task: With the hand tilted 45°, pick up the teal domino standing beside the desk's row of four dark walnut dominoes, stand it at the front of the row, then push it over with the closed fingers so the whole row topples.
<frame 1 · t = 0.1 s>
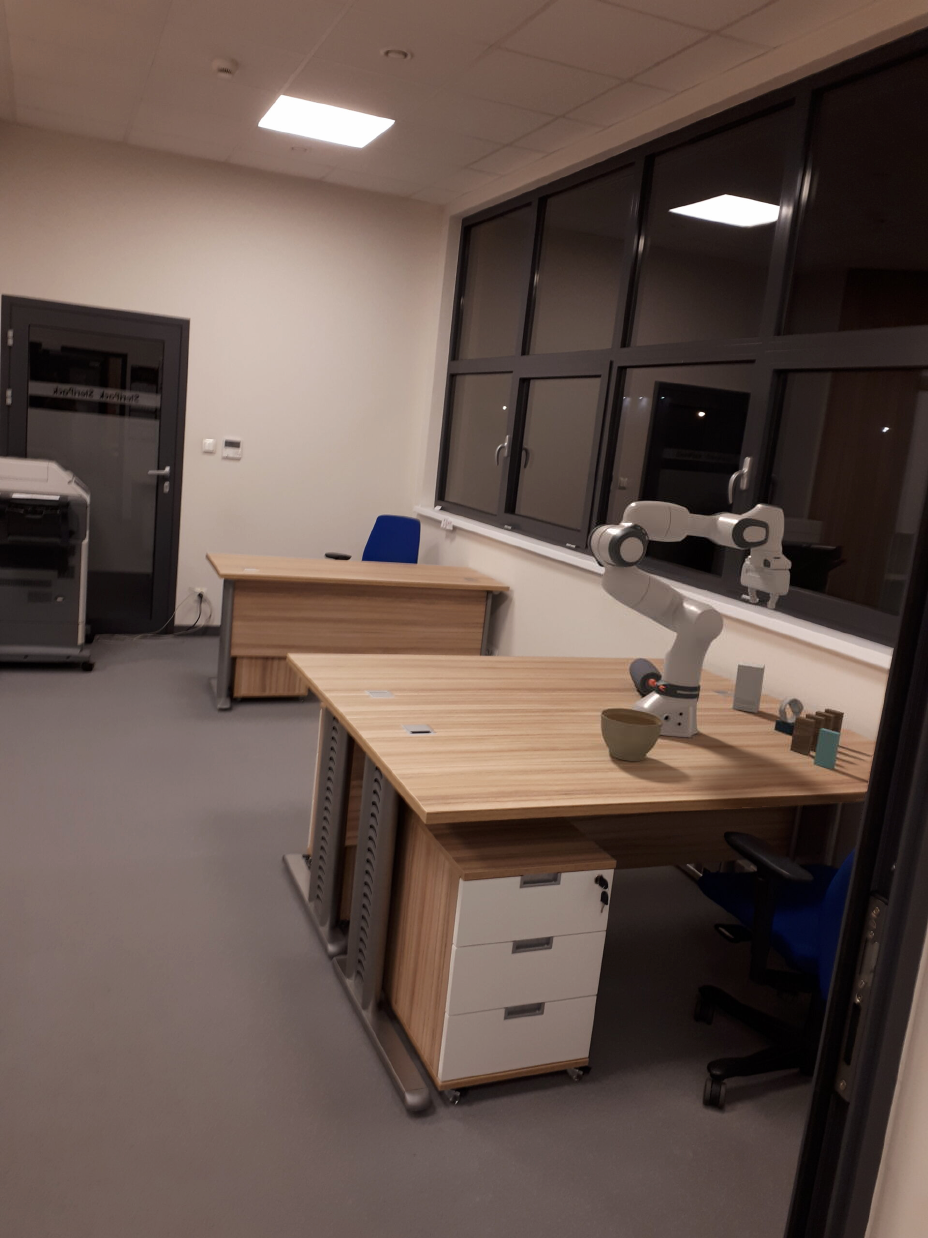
hand: (761, 605, 282), 39 cm above the table, tool pointing down, fingers open, 8 cm apart
watch: (786, 732, 293), on the table
walnut domino 4: (819, 745, 281), on the table
walnut domino 3: (809, 749, 276), on the table
teal domino: (823, 766, 260), on the table
walnut domino 5: (828, 743, 286), on the table
skincare box: (744, 710, 317), on the table
bluetooth speaker: (644, 692, 327), on the table
planter bowl: (626, 756, 249), on the table
walnut domino 2: (799, 752, 272), on the table
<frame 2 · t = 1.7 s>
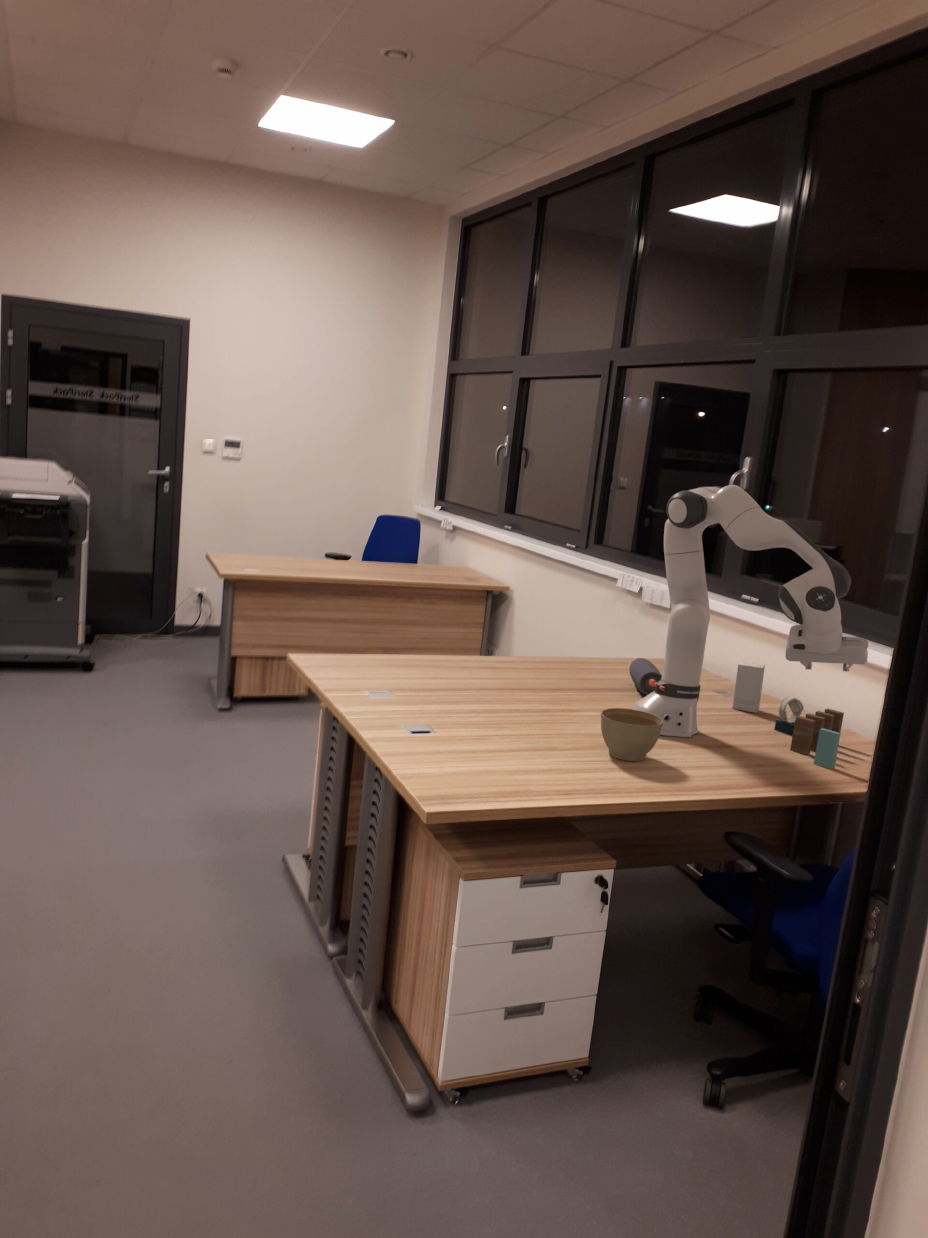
hand: (827, 668, 254), 27 cm above the table, tool tilted 45°, fingers open, 8 cm apart
nothing on the table moved.
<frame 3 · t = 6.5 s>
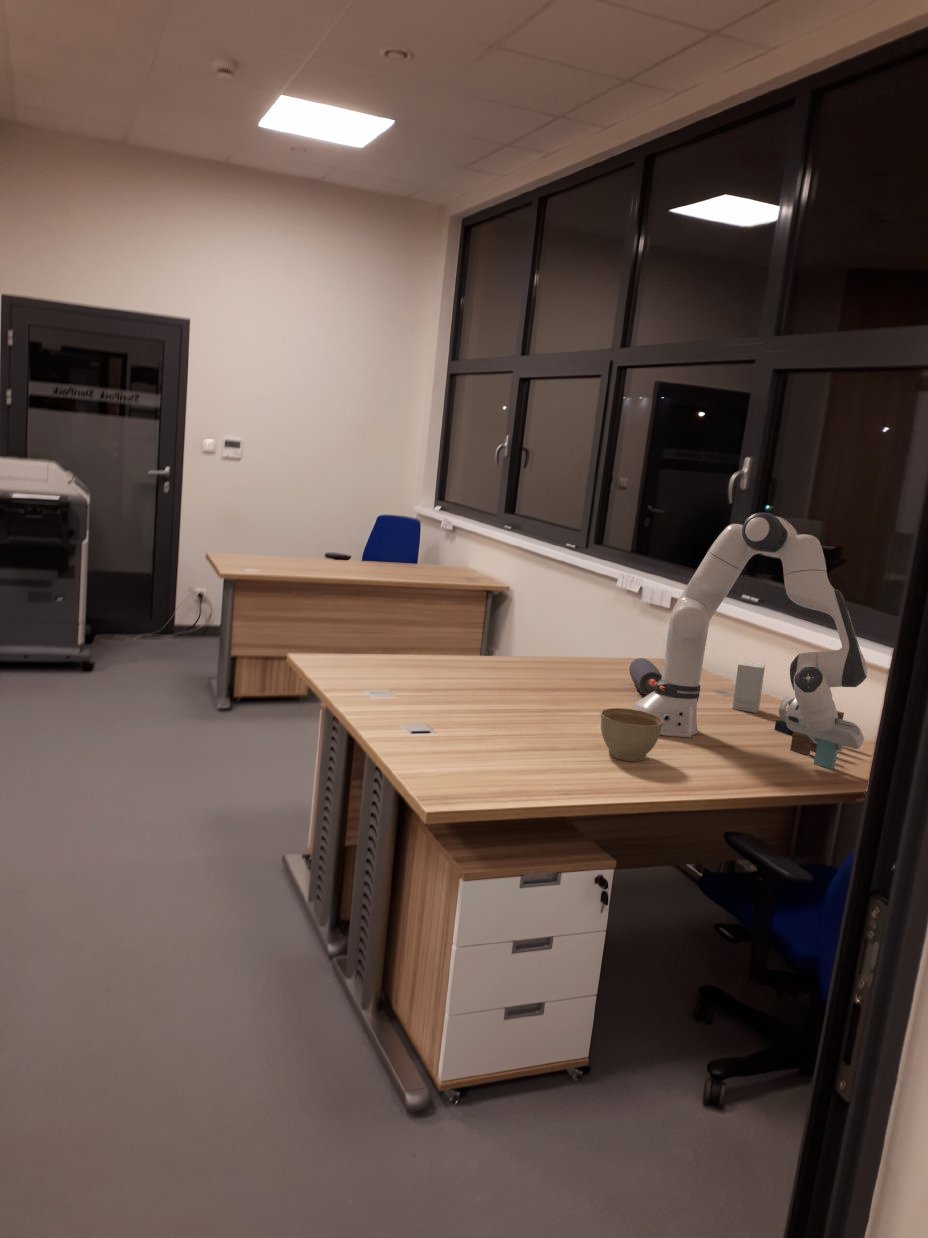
hand: (828, 745, 260), 6 cm above the table, tool tilted 45°, fingers closed on teal domino, 5 cm apart
teal domino: (823, 766, 260), on the table, touching gripper
everything else where it was.
when the fingers open (7 cm above the table, at t = 12.2 s): teal domino drops 1 cm, on the table.
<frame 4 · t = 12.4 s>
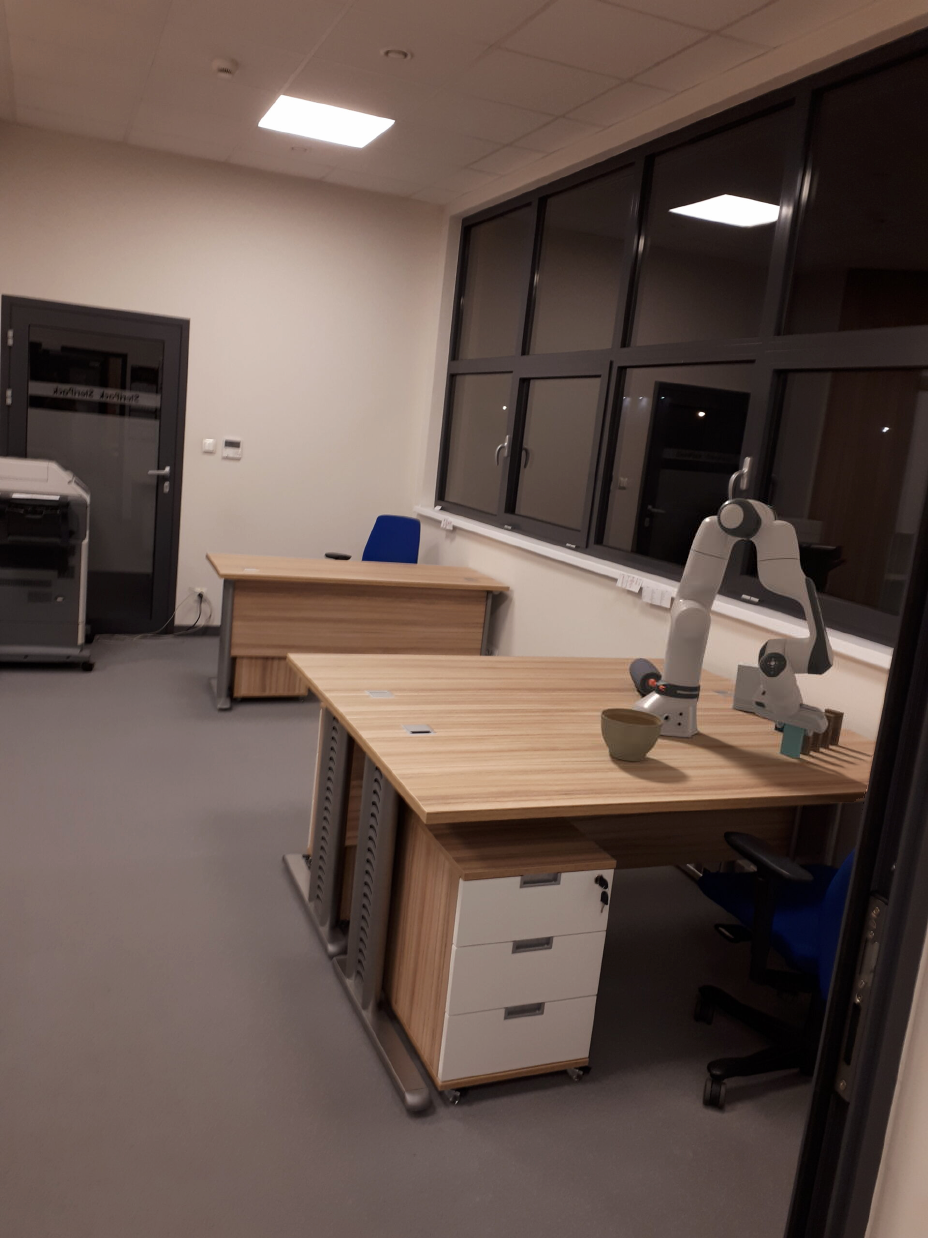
hand: (795, 730, 266), 7 cm above the table, tool tilted 45°, fingers open, 7 cm apart
teal domino: (789, 755, 267), on the table
everything else where it was.
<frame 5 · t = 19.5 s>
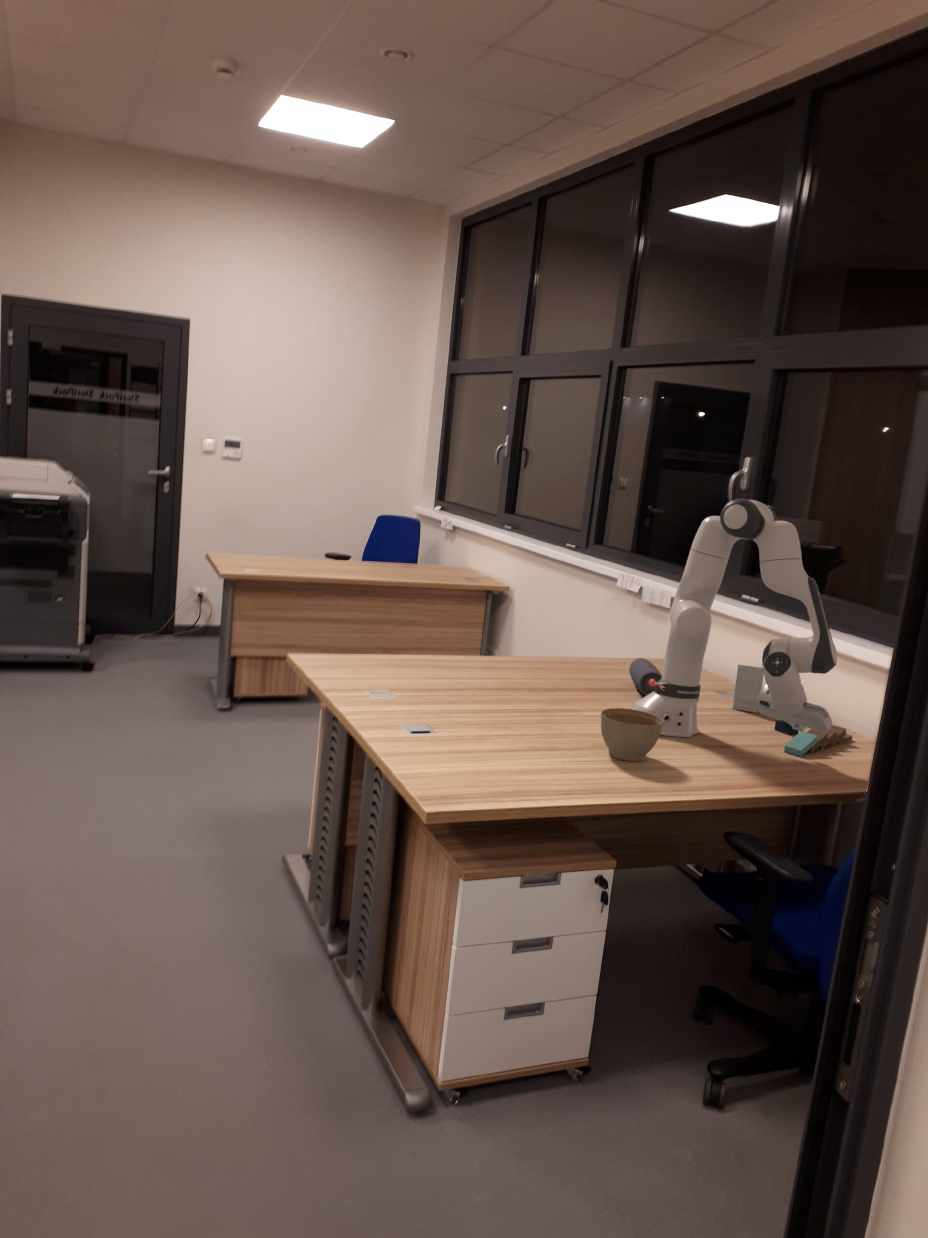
hand: (799, 728, 268), 7 cm above the table, tool tilted 45°, fingers closed
walnut domino 4: (822, 741, 282), point 1 cm above the table, tilted 75°, touching walnut domino 3
walnut domino 3: (812, 745, 277), point 1 cm above the table, tilted 73°, touching walnut domino 4
teal domino: (792, 751, 268), point 1 cm above the table, tilted 72°, touching walnut domino 2
walnut domino 5: (830, 741, 286), on the table, tilted 90°
walnut domino 2: (802, 748, 273), point 1 cm above the table, tilted 72°, touching teal domino
everything else where it was.
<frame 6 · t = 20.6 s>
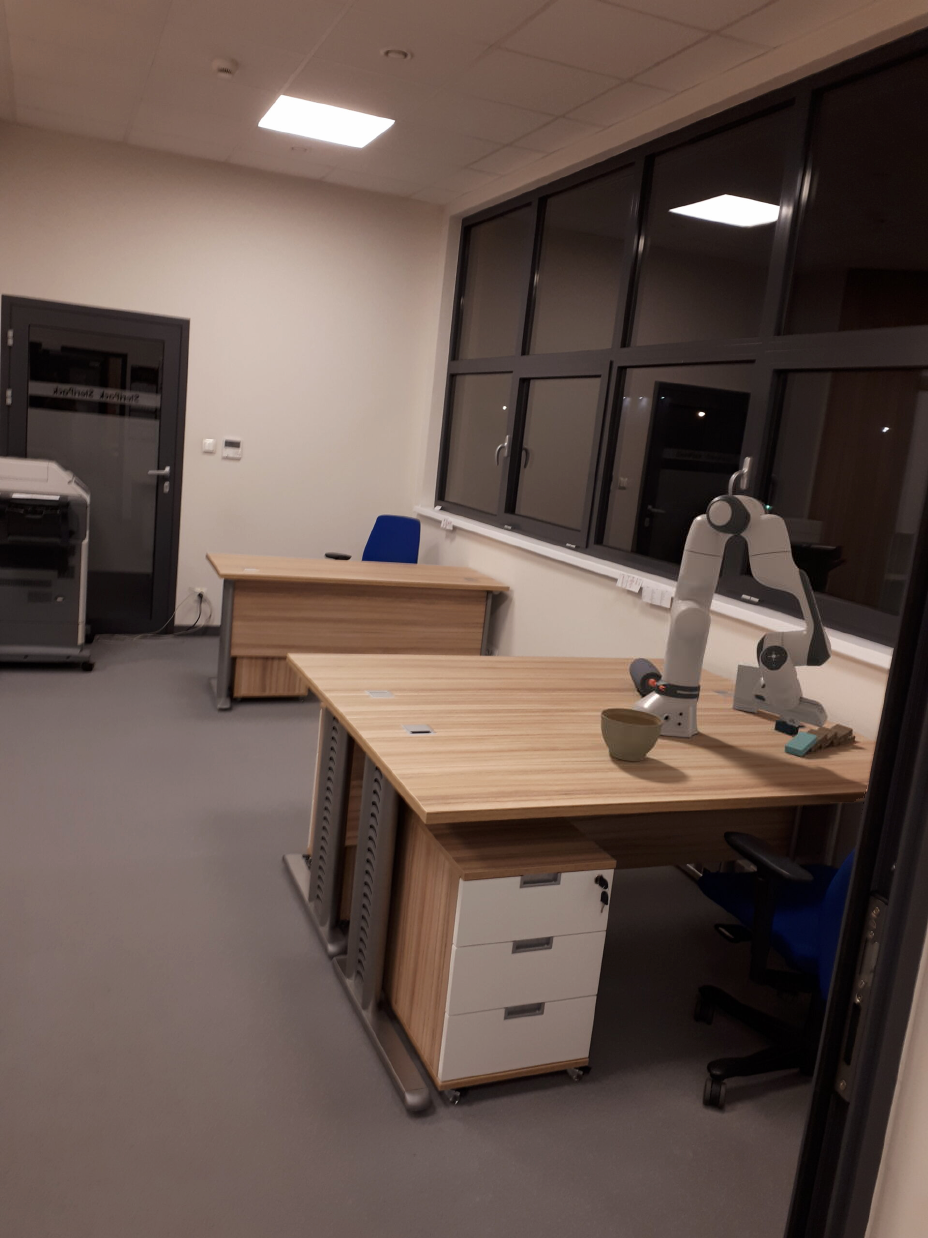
hand: (794, 723, 266), 9 cm above the table, tool tilted 45°, fingers closed
walnut domino 4: (826, 741, 283), point 1 cm above the table, tilted 73°, touching walnut domino 3
walnut domino 3: (813, 744, 278), point 1 cm above the table, tilted 73°, touching walnut domino 2, walnut domino 4
walnut domino 2: (803, 747, 273), point 1 cm above the table, tilted 73°, touching teal domino, walnut domino 3
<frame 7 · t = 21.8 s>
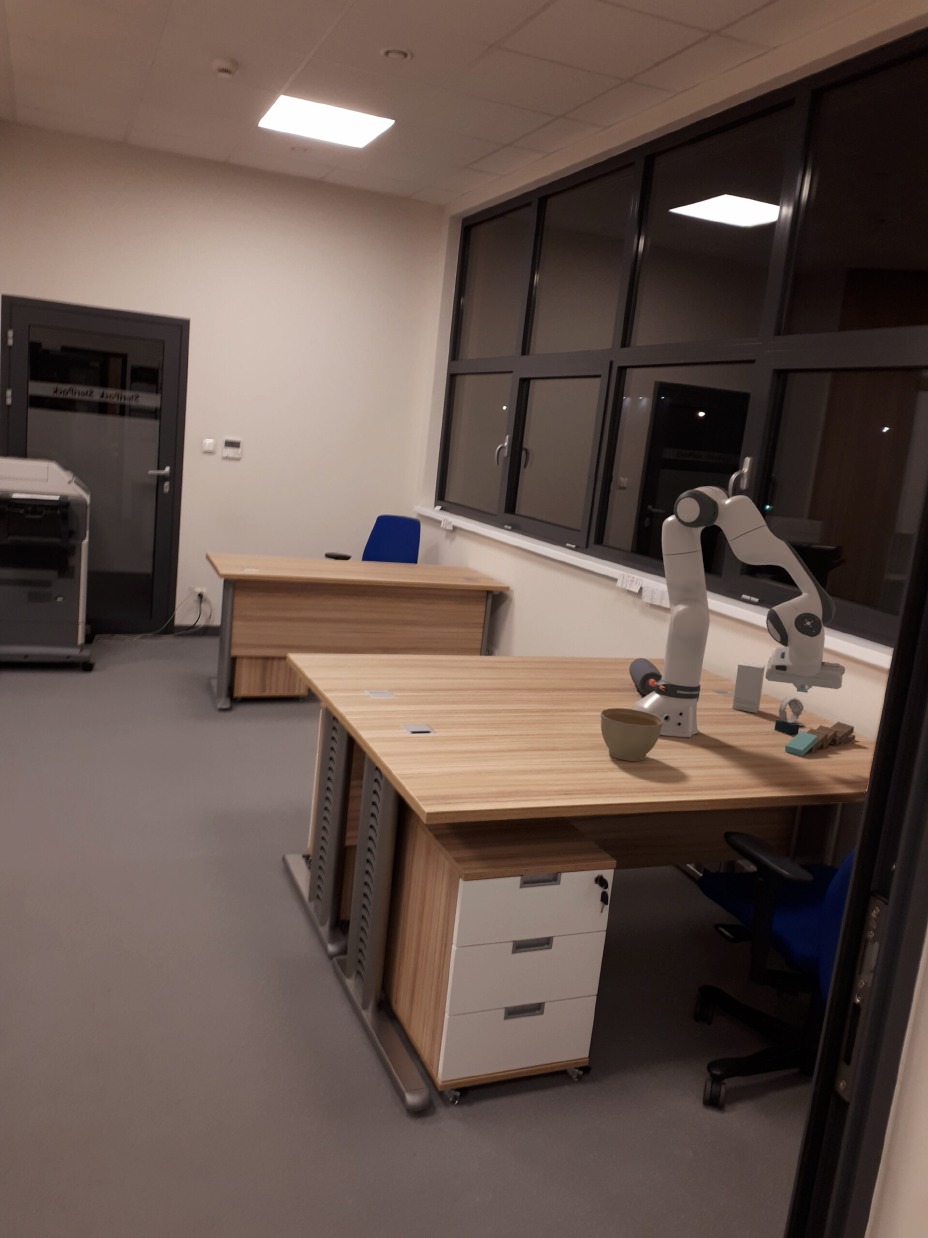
hand: (802, 690, 269), 18 cm above the table, tool tilted 45°, fingers closed
walnut domino 4: (828, 739, 284), point 1 cm above the table, tilted 73°
walnut domino 3: (815, 744, 279), point 1 cm above the table, tilted 74°, touching walnut domino 2
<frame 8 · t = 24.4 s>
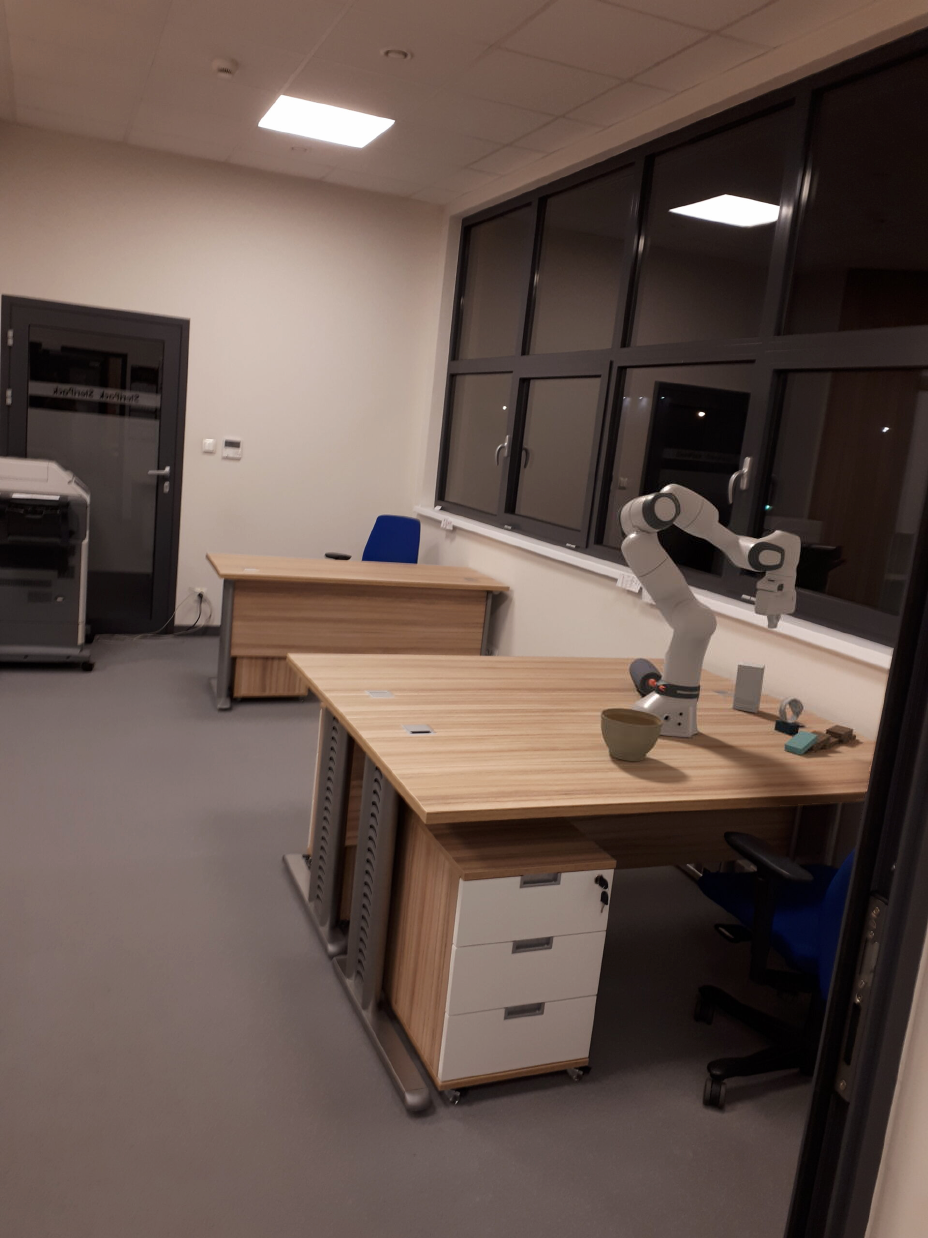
hand: (772, 628, 292), 31 cm above the table, tool pointing down, fingers closed
walnut domino 4: (834, 734, 287), point 2 cm above the table, tilted 90°, touching walnut domino 5
walnut domino 3: (817, 745, 280), on the table, tilted 90°, touching walnut domino 2
teal domino: (792, 749, 270), point 1 cm above the table, tilted 74°, touching walnut domino 2
walnut domino 5: (835, 740, 288), on the table, tilted 90°, touching walnut domino 4
walnut domino 2: (805, 746, 275), point 1 cm above the table, tilted 79°, touching teal domino, walnut domino 3
everything else where it was.
at the end: walnut domino 5 tilted 90°; teal domino tilted 74°; teal domino 7.3 cm from the walnut domino 2 (horizontally) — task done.
